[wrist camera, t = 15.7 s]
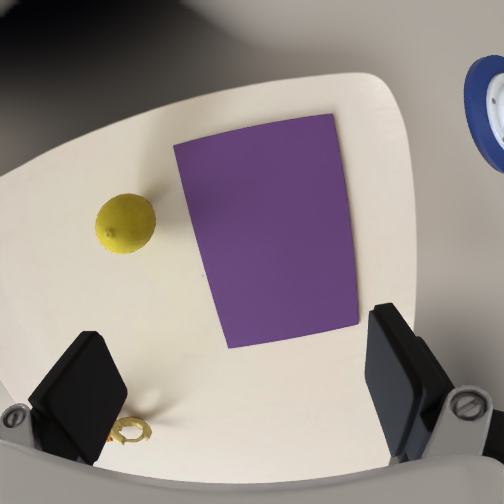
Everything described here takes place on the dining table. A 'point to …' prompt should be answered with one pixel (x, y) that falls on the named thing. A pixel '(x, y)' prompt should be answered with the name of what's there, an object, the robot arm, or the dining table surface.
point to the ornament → (129, 422)
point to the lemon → (125, 223)
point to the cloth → (273, 228)
